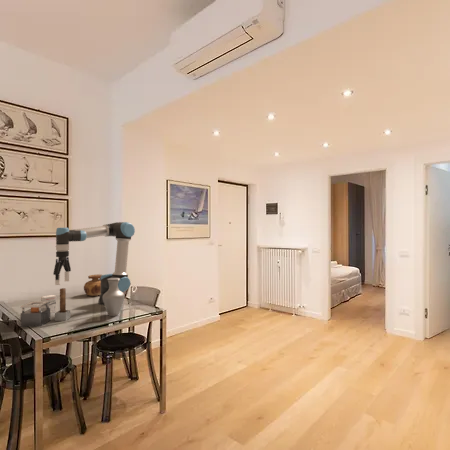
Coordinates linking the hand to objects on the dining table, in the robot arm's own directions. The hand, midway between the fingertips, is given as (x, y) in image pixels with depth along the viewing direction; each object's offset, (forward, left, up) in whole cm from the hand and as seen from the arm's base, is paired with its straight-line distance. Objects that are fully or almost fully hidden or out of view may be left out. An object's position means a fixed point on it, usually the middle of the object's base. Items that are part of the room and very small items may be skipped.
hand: (62, 283), depth 208 cm
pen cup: (0, 0, -24) cm, 24 cm away
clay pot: (+3, -74, -24) cm, 78 cm away
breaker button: (+13, +8, -18) cm, 24 cm away
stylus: (0, 0, -24) cm, 24 cm away
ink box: (+17, -17, -24) cm, 34 cm away
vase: (-31, -7, -24) cm, 40 cm away
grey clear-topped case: (+13, +8, -24) cm, 28 cm away
